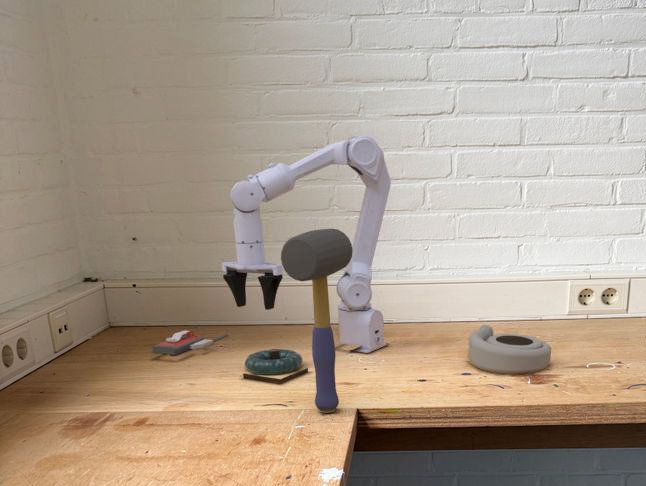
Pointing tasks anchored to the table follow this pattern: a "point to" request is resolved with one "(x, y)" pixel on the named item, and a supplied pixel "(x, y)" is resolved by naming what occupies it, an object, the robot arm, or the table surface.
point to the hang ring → (273, 362)
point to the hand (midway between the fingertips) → (255, 307)
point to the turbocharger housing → (507, 352)
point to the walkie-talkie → (183, 343)
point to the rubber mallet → (319, 298)
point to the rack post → (274, 355)
